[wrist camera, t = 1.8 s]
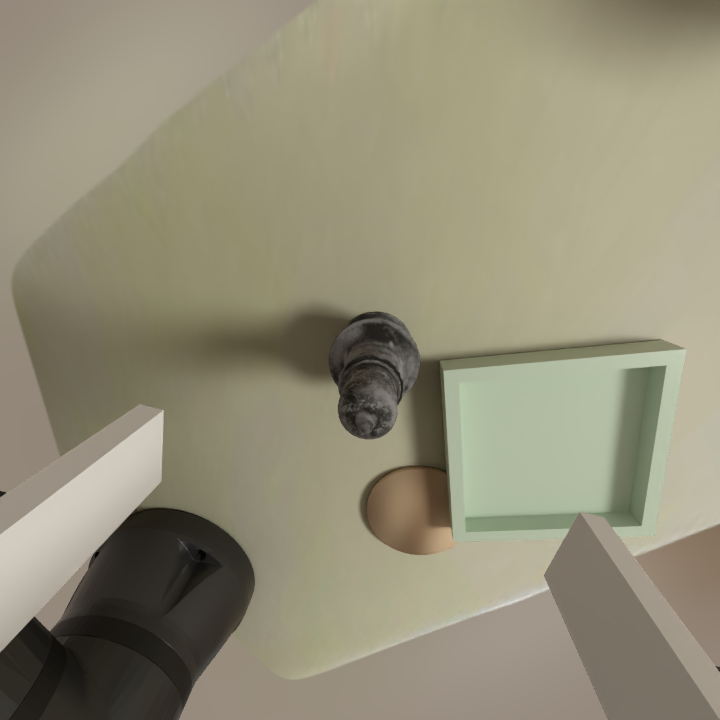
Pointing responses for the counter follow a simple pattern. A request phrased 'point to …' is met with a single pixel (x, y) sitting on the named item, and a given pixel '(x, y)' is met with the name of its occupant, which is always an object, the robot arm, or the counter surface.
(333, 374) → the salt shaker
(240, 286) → the counter surface
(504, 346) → the counter surface
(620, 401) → the tray
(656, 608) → the robot arm
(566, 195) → the counter surface
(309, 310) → the counter surface
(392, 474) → the cork coaster
